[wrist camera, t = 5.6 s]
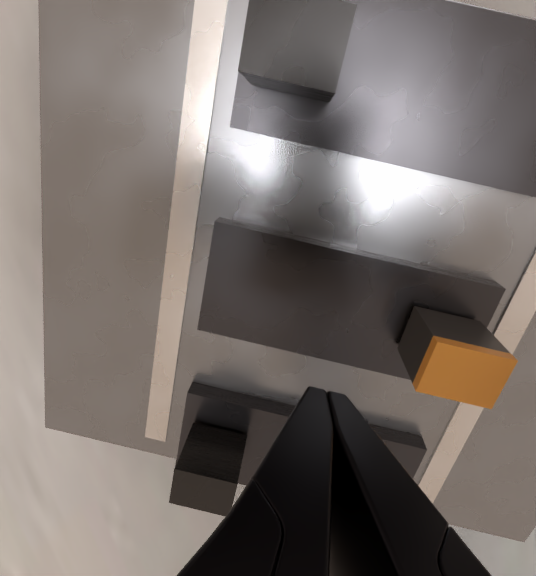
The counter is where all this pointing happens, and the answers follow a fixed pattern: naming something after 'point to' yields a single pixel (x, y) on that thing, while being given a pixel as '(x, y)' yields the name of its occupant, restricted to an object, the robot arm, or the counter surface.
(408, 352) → the block
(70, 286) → the breaker panel
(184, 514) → the counter surface
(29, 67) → the counter surface
